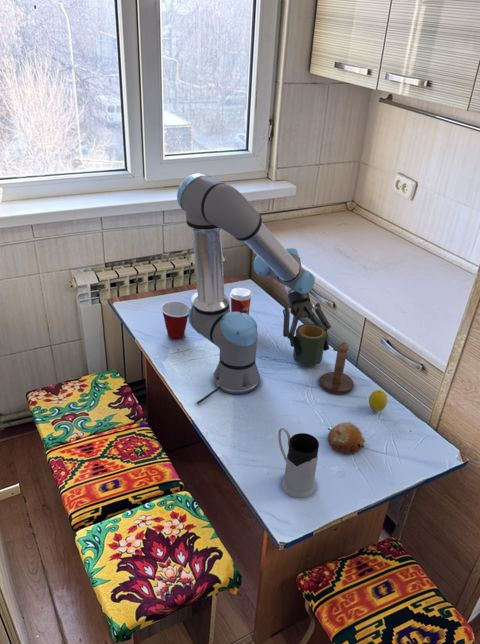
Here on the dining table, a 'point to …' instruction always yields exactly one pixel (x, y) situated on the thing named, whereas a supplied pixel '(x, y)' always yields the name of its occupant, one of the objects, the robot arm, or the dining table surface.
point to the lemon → (378, 400)
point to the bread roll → (346, 438)
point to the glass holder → (300, 464)
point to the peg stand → (338, 374)
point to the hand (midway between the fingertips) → (312, 352)
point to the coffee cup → (240, 300)
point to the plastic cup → (175, 318)
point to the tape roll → (310, 344)
